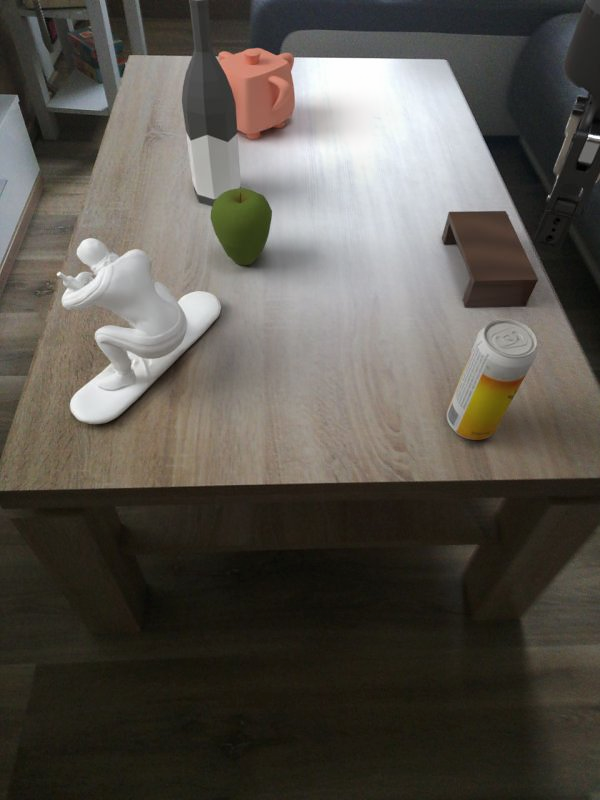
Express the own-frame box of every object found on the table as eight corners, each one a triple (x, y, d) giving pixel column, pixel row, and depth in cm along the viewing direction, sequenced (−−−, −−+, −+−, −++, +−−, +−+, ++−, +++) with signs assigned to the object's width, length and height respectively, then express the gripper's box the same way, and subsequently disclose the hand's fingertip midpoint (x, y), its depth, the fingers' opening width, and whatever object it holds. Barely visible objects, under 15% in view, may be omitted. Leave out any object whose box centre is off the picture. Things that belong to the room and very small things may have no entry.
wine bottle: (243, 181, 98) (231, -25, 74) (239, 208, 93) (224, -4, 70) (197, 179, 98) (170, -28, 74) (190, 206, 93) (159, -6, 70)
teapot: (293, 106, 116) (294, 34, 105) (295, 145, 106) (296, 71, 96) (212, 105, 115) (205, 33, 105) (206, 145, 105) (198, 70, 95)
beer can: (505, 434, 67) (553, 350, 55) (461, 449, 66) (502, 366, 54) (477, 396, 70) (517, 310, 58) (435, 410, 69) (468, 324, 57)
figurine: (173, 283, 82) (151, 177, 68) (245, 317, 78) (237, 211, 64) (38, 400, 68) (-21, 297, 55) (118, 448, 64) (75, 349, 51)
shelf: (525, 306, 81) (538, 279, 77) (465, 307, 80) (474, 280, 76) (495, 237, 90) (505, 210, 86) (441, 238, 90) (448, 211, 86)
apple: (272, 242, 88) (271, 174, 79) (272, 278, 83) (271, 210, 74) (217, 242, 88) (209, 174, 79) (214, 277, 83) (205, 209, 74)
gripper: (709, 52, 31) (587, 279, 44) (712, -20, 39) (608, 190, 52) (571, 28, 33) (492, 253, 46) (601, -36, 41) (527, 170, 54)
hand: (554, 219), depth 49 cm, fingers open, 8 cm apart
